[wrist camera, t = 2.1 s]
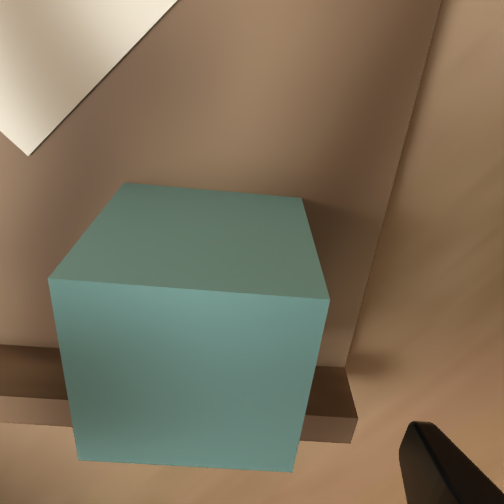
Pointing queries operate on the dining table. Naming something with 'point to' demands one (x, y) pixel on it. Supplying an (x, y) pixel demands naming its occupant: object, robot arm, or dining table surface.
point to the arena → (198, 147)
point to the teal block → (191, 328)
